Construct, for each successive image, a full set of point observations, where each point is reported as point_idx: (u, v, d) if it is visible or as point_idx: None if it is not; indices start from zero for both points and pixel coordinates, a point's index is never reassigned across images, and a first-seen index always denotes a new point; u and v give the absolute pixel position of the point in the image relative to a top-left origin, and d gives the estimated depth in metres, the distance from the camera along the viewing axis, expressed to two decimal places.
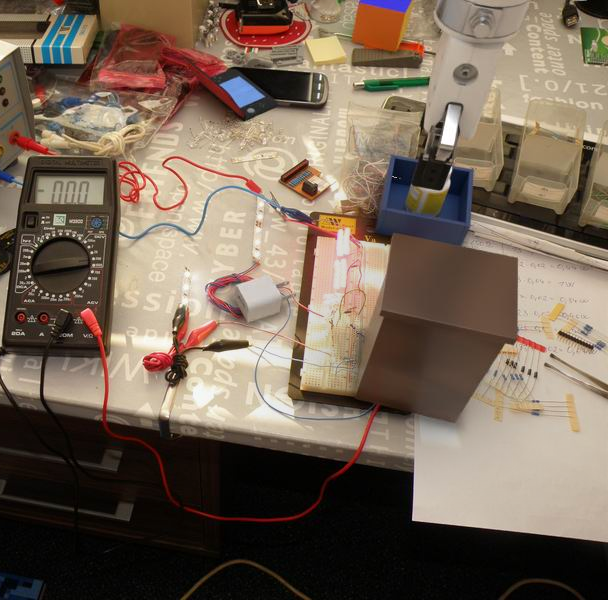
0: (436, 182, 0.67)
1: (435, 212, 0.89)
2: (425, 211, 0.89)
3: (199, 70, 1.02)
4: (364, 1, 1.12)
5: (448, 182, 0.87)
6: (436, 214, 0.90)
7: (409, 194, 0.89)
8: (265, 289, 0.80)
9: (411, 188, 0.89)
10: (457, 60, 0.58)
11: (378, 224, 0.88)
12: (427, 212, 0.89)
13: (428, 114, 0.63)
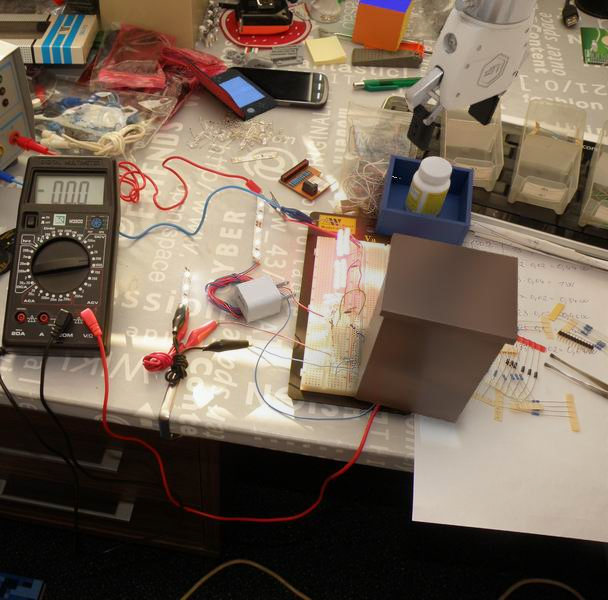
0: (417, 138, 0.78)
1: (435, 212, 0.89)
2: (425, 211, 0.89)
3: (199, 70, 1.02)
4: (364, 1, 1.12)
5: (448, 182, 0.86)
6: (436, 214, 0.90)
7: (409, 194, 0.89)
8: (265, 289, 0.80)
9: (411, 188, 0.89)
10: (448, 28, 0.69)
11: (378, 224, 0.88)
12: (427, 212, 0.89)
13: (426, 72, 0.74)
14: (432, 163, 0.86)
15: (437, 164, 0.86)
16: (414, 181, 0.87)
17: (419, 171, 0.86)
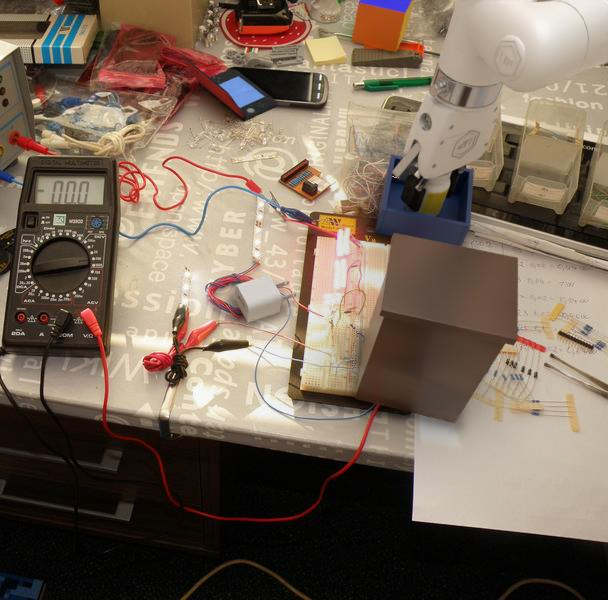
0: (409, 202, 0.87)
1: (435, 212, 0.89)
2: (425, 211, 0.89)
3: (199, 70, 1.02)
4: (364, 1, 1.12)
5: (448, 182, 0.87)
6: (436, 214, 0.90)
7: None
8: (265, 289, 0.80)
9: None
10: (424, 108, 0.77)
11: (378, 224, 0.88)
12: (427, 212, 0.89)
13: (406, 144, 0.82)
14: None
15: None
16: None
17: None
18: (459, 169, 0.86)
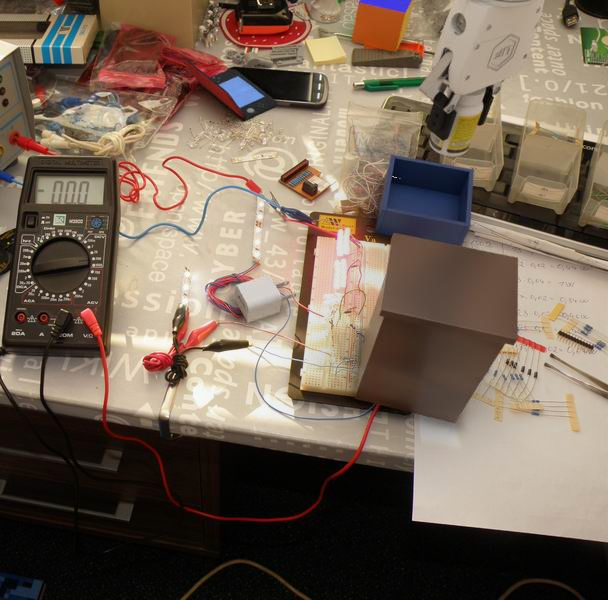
0: (437, 128, 0.77)
1: (465, 142, 0.79)
2: (454, 140, 0.79)
3: (198, 70, 1.02)
4: (364, 1, 1.12)
5: (481, 104, 0.77)
6: (467, 144, 0.80)
7: None
8: (265, 289, 0.80)
9: None
10: (456, 8, 0.67)
11: (378, 224, 0.88)
12: (457, 140, 0.79)
13: (434, 56, 0.72)
14: None
15: None
16: None
17: (448, 92, 0.76)
18: (493, 89, 0.76)
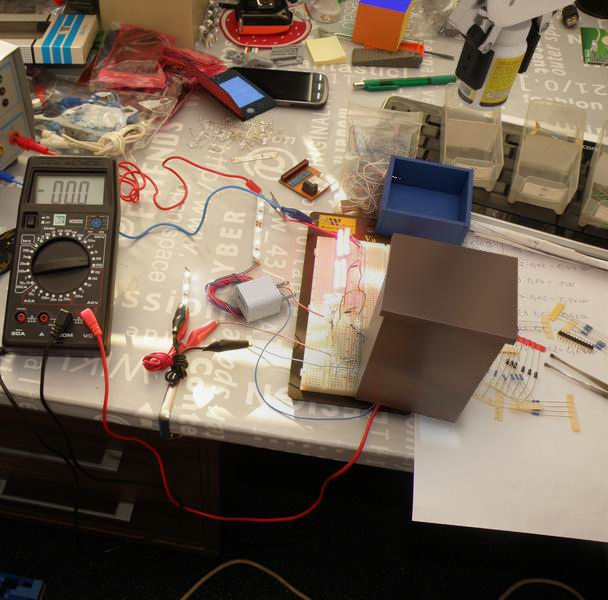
0: (469, 73, 0.62)
1: (503, 92, 0.64)
2: (490, 90, 0.63)
3: (198, 71, 1.02)
4: (364, 1, 1.12)
5: (525, 44, 0.61)
6: (504, 95, 0.64)
7: None
8: (265, 289, 0.80)
9: None
10: None
11: (378, 224, 0.88)
12: (493, 90, 0.63)
13: None
14: None
15: None
16: None
17: (484, 28, 0.61)
18: (541, 25, 0.61)
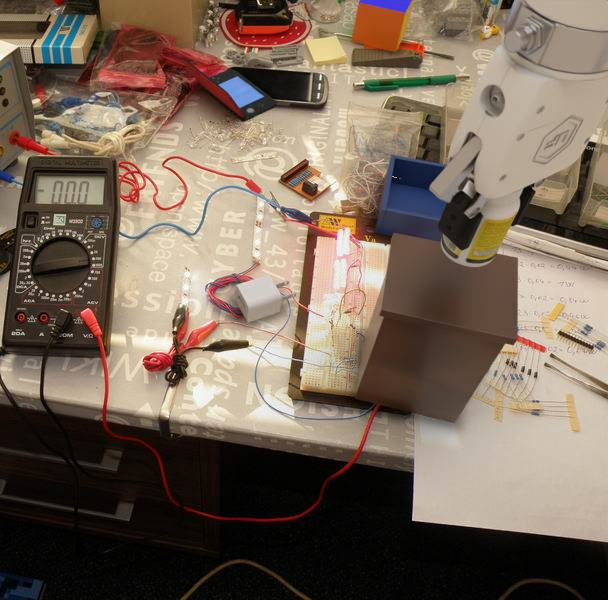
0: (454, 234, 0.54)
1: (493, 250, 0.56)
2: (477, 248, 0.55)
3: (198, 71, 1.02)
4: (364, 1, 1.12)
5: (517, 202, 0.53)
6: (494, 252, 0.56)
7: None
8: (265, 289, 0.80)
9: None
10: (490, 77, 0.44)
11: (378, 224, 0.88)
12: (481, 249, 0.55)
13: None
14: None
15: None
16: None
17: (470, 184, 0.53)
18: (536, 181, 0.53)
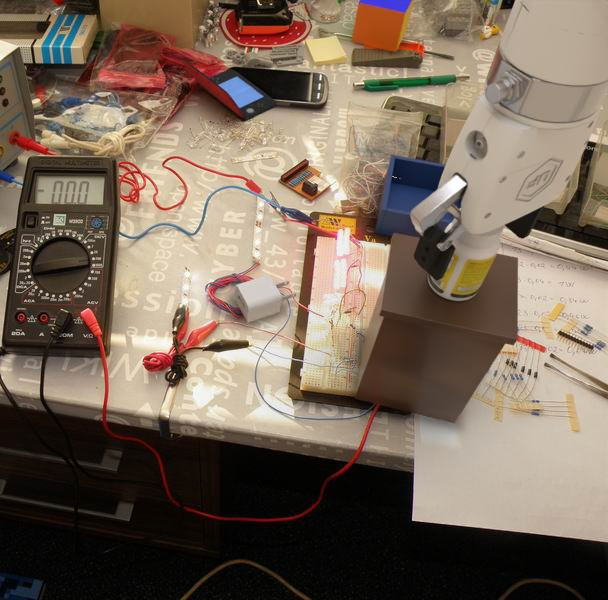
0: (428, 265, 0.55)
1: (475, 286, 0.60)
2: (461, 285, 0.59)
3: (198, 71, 1.02)
4: (364, 1, 1.12)
5: (497, 243, 0.57)
6: (477, 287, 0.60)
7: None
8: (265, 289, 0.80)
9: None
10: (473, 123, 0.46)
11: (378, 224, 0.88)
12: (465, 285, 0.59)
13: (441, 179, 0.52)
14: None
15: None
16: None
17: None
18: None
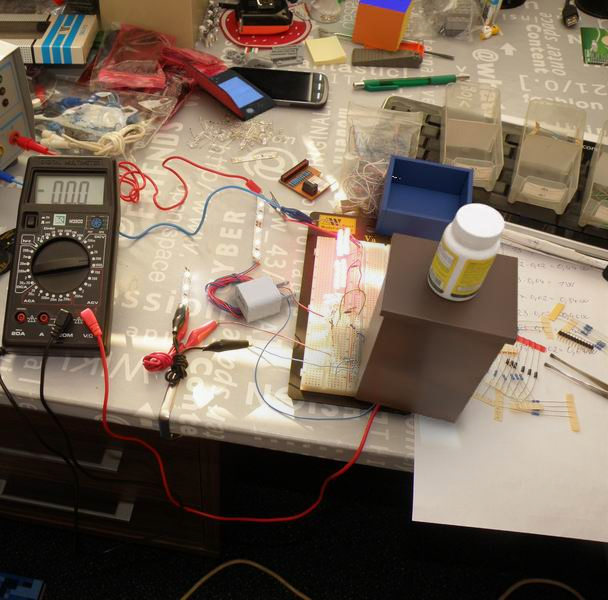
0: None
1: (475, 286, 0.60)
2: (461, 285, 0.59)
3: (198, 71, 1.01)
4: (364, 1, 1.12)
5: (497, 243, 0.57)
6: (477, 287, 0.60)
7: (437, 258, 0.60)
8: (265, 289, 0.80)
9: (440, 250, 0.59)
10: None
11: (378, 224, 0.88)
12: (465, 285, 0.59)
13: None
14: (474, 214, 0.56)
15: (481, 216, 0.56)
16: (445, 240, 0.58)
17: (454, 226, 0.57)
18: None
